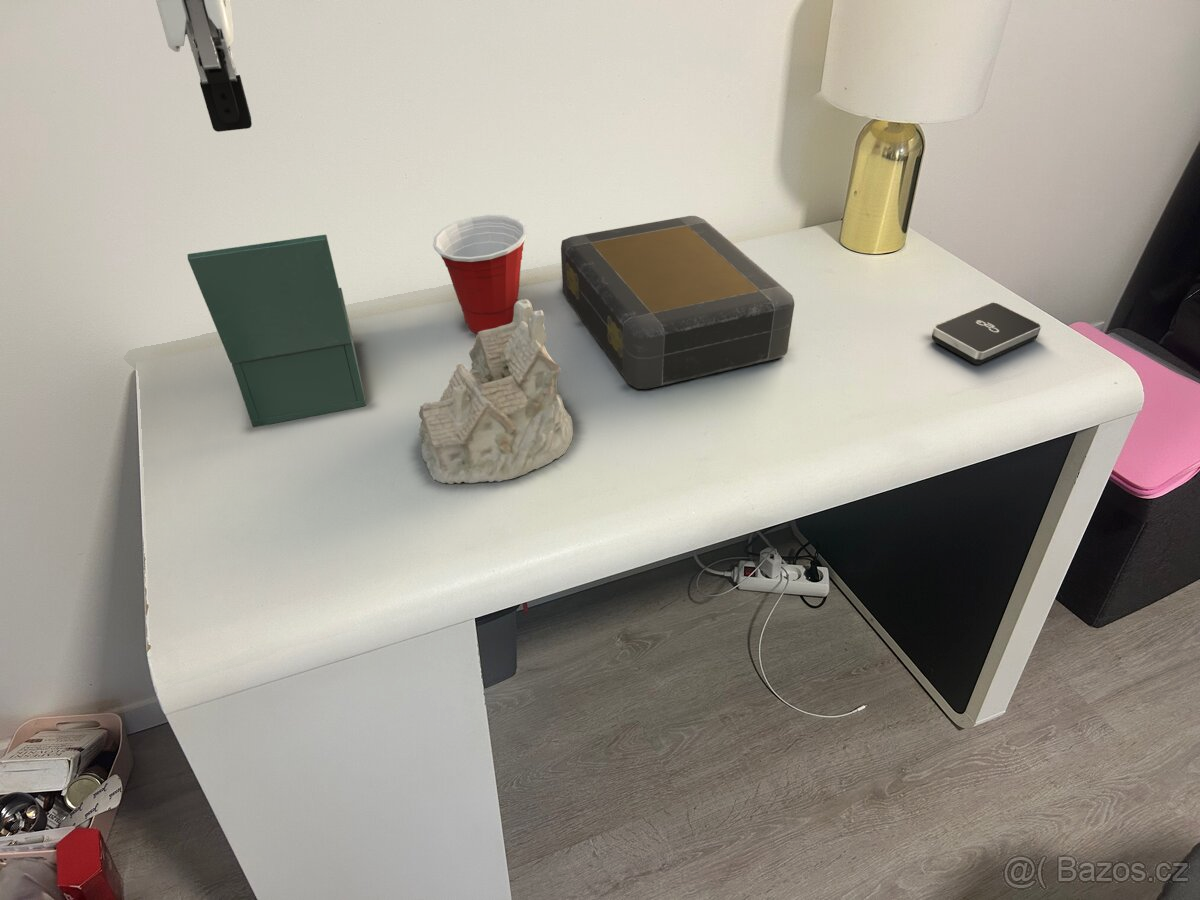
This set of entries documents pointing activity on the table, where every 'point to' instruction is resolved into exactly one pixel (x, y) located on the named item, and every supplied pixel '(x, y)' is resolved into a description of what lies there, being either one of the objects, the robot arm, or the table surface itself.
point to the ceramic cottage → (498, 408)
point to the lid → (272, 297)
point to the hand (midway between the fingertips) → (233, 126)
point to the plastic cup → (484, 267)
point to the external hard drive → (985, 332)
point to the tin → (301, 383)
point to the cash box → (674, 300)
